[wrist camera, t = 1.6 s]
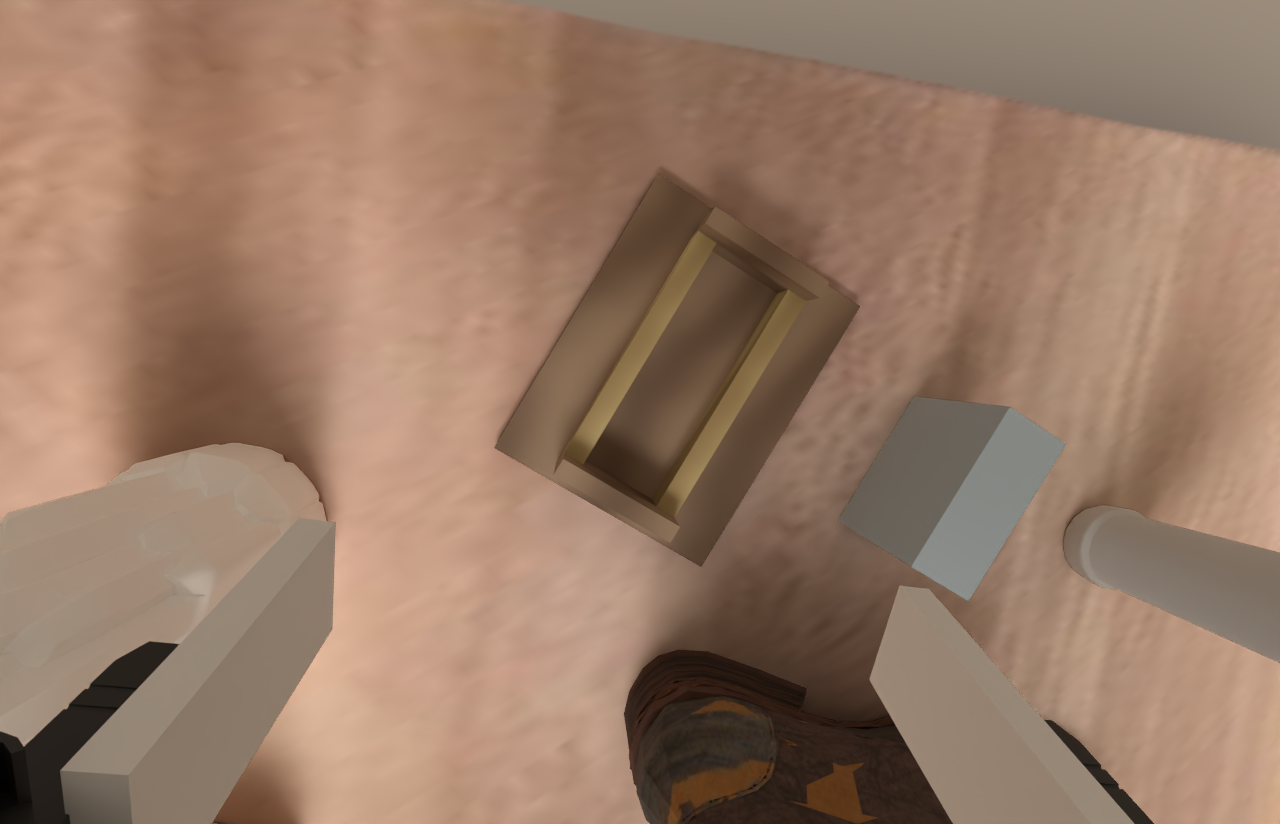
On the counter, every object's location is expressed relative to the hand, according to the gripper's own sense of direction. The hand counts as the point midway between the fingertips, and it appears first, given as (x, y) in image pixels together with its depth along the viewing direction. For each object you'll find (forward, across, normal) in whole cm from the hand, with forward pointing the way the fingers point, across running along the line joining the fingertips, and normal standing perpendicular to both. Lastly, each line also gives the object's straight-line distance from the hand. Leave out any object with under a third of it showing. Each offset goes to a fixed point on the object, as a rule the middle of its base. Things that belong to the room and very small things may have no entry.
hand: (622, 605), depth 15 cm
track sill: (+24, -4, 0) cm, 24 cm away
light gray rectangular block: (+23, -19, +4) cm, 30 cm away
